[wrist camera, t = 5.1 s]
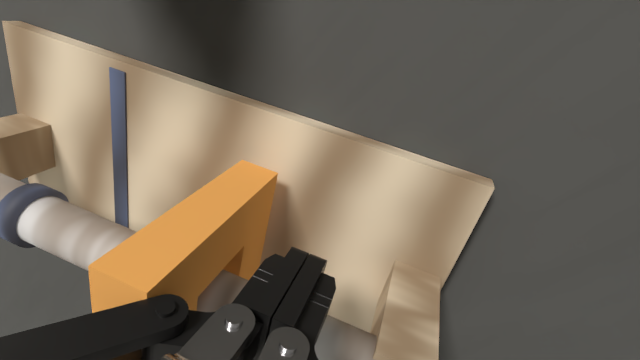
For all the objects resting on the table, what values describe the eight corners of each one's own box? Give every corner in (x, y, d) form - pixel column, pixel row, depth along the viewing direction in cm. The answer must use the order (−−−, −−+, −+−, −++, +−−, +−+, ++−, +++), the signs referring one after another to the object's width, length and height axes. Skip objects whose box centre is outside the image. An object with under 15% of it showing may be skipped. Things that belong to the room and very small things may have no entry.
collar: (278, 173, 18) (146, 292, 10) (252, 301, 22) (145, 457, 14) (242, 159, 18) (87, 265, 10) (223, 288, 22) (103, 433, 15)
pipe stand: (492, 179, 17) (524, 293, 10) (394, 366, 23) (372, 515, 16) (20, 21, 22) (-183, 21, 15) (47, 212, 28) (-84, 276, 21)
